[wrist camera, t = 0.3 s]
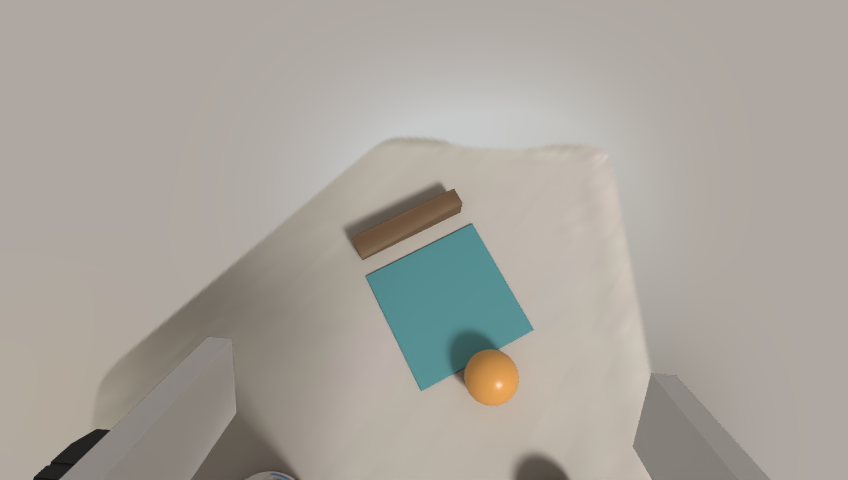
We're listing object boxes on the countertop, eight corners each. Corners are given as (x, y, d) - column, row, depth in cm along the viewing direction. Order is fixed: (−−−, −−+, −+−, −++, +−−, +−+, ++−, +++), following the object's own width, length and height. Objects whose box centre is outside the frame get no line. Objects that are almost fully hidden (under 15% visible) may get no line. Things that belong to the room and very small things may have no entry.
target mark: (533, 329, 48) (533, 329, 48) (421, 390, 46) (421, 390, 46) (471, 224, 52) (472, 223, 51) (366, 276, 50) (365, 276, 50)
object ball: (522, 388, 46) (535, 390, 41) (477, 413, 45) (484, 419, 40) (496, 341, 48) (505, 337, 42) (452, 365, 47) (456, 364, 42)
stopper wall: (460, 212, 52) (462, 202, 49) (362, 260, 50) (358, 253, 48) (452, 198, 53) (453, 188, 50) (355, 245, 51) (351, 237, 48)
